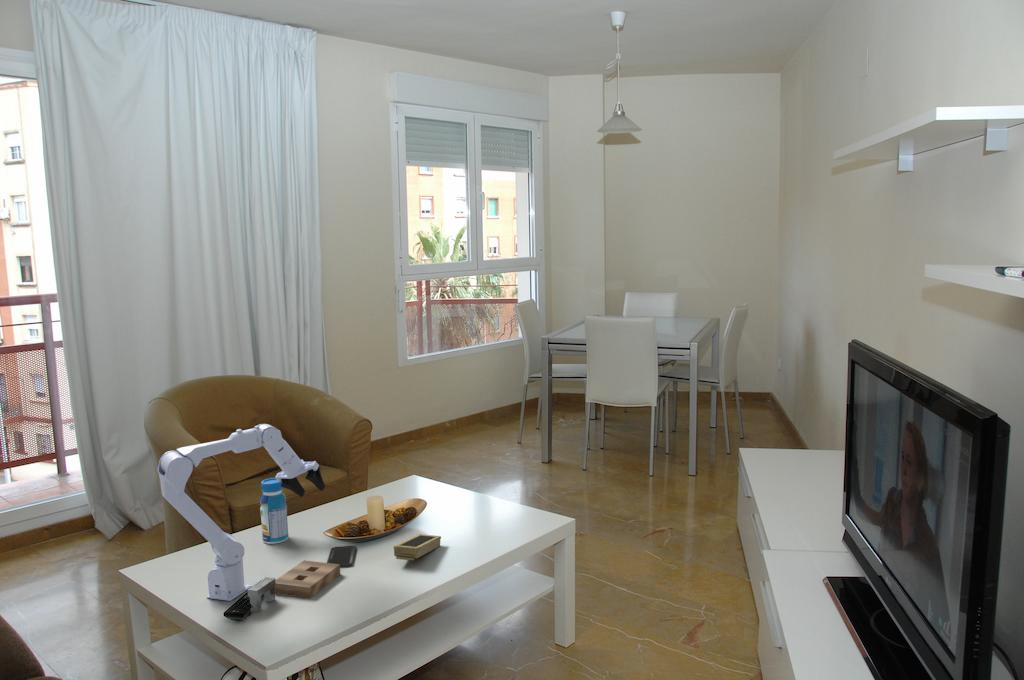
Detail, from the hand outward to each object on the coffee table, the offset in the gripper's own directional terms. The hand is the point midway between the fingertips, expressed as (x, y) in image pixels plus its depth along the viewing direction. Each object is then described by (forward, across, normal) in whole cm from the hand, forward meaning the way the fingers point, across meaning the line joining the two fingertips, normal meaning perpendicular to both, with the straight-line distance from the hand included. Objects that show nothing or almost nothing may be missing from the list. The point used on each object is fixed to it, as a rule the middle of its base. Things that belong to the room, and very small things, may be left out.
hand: (313, 491), depth 232 cm
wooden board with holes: (+16, +4, +20) cm, 26 cm away
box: (+36, -16, -2) cm, 39 cm away
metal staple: (+8, +7, +33) cm, 35 cm away
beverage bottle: (+19, +33, -6) cm, 38 cm away
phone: (+25, +5, +4) cm, 25 cm away
